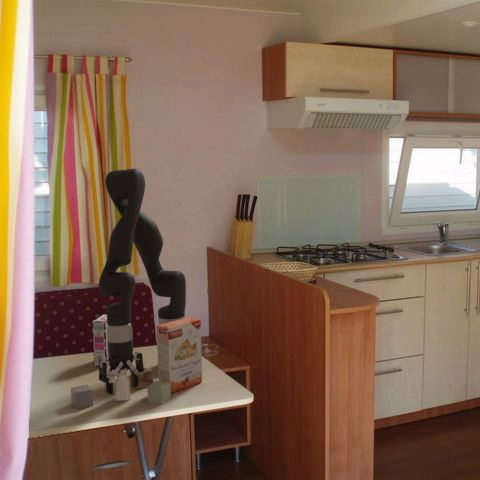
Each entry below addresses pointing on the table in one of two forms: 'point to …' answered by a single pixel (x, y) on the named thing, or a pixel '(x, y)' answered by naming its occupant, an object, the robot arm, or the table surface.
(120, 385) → the salt shaker
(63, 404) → the table surface
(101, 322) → the candy bar box
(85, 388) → the slate grey block
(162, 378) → the cracker box
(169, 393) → the sage green block
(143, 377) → the walnut block
